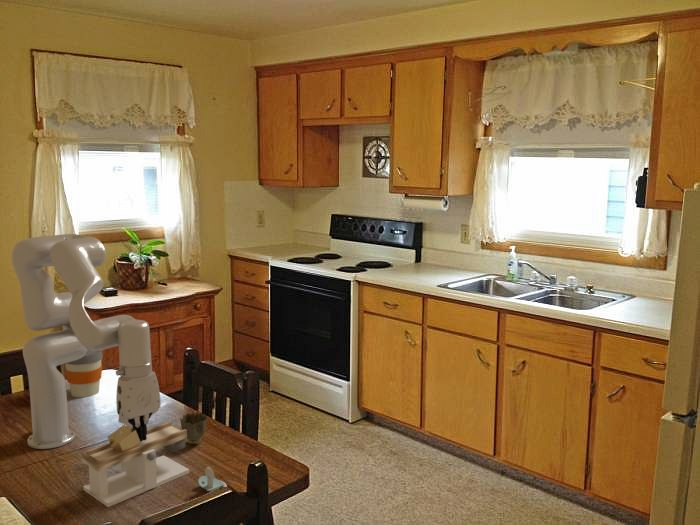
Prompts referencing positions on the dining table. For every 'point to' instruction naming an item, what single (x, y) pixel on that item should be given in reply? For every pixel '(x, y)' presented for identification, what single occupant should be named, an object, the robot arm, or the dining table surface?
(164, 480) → the beam stand
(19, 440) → the dining table surface
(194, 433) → the cup
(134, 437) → the slider weight
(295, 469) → the dining table surface
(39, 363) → the robot arm
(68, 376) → the reusable coffee cup
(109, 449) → the balance beam
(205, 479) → the pacifier
